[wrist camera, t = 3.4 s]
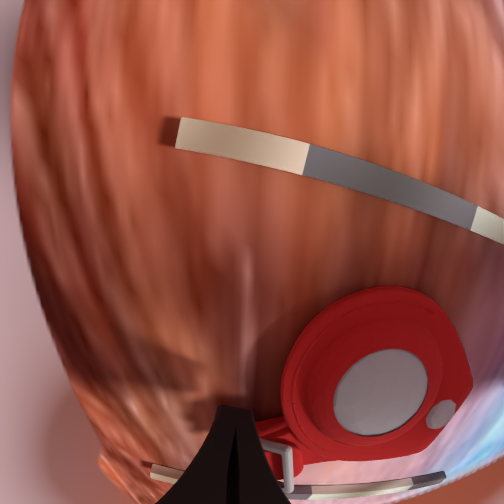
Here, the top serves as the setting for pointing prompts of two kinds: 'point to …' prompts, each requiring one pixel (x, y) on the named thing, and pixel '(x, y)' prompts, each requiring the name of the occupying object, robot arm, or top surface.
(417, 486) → the track
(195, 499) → the robot arm
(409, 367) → the tracker holder
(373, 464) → the top surface
